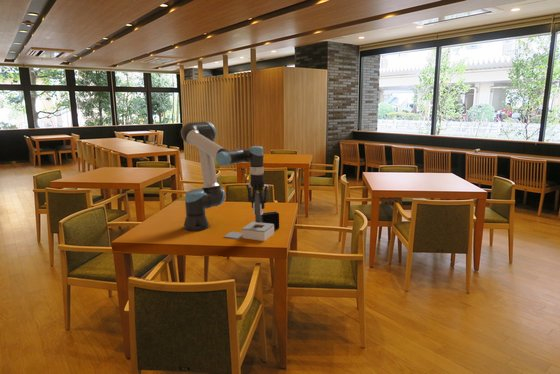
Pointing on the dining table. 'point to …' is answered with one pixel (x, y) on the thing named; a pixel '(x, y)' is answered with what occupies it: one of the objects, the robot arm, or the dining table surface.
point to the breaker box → (258, 231)
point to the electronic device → (271, 218)
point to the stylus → (257, 208)
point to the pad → (233, 235)
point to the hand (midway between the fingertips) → (258, 214)
